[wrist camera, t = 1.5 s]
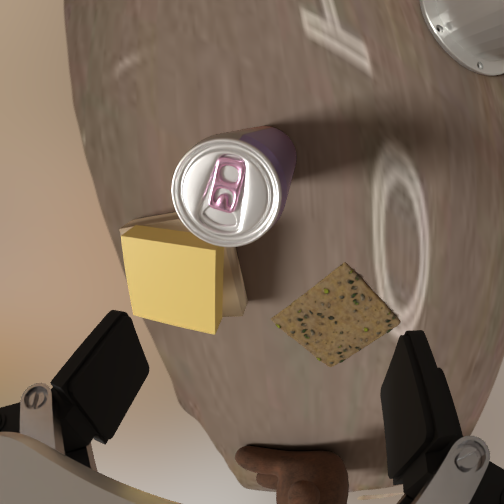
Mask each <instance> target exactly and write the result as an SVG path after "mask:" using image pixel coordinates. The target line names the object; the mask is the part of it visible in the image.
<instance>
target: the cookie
mask: <svg viewBox="0 0 504 504" xmlns="http://www.w3.org/2000/svg"><path fill="white" fill-rule="evenodd" d="M271 320H272V321H273V322H274V323H275V324H276V326H277V327H278V328H281V329H282V330H283V331H284V332H286V333H287V334H288V335H289V336H290V337H292V338H294V339H295V340H296V341H297V342H298V343H299V344H301V345H302V346H304V347H305V348H306V349H307V350H308V351H310V352H311V353H312V354H313V355H314V356H315V357H316V358H317V359H318V360H319V361H322V362H323V363H325V364H326V365H327V366H329V367H332V366H334V365H336V364H338V363H341V362H343V361H344V360H345V359H346V358H349V357H350V356H351V355H353V354H354V353H356V352H358V351H360V350H361V349H362V348H364V347H365V346H367V345H369V344H370V343H372V342H373V341H375V340H376V339H378V338H379V337H381V336H383V335H384V334H385V333H388V332H390V331H391V330H392V329H393V328H395V327H396V326H397V325H399V323H400V321H399V319H398V318H397V316H396V315H394V314H393V312H392V311H391V310H390V309H389V308H388V307H387V305H386V304H385V303H384V302H383V301H382V300H381V299H380V298H379V297H378V296H377V295H376V294H375V293H374V292H373V291H372V290H371V288H370V287H369V286H367V284H366V283H365V282H364V281H363V280H362V278H361V277H360V276H358V274H357V273H356V272H355V271H354V270H353V269H351V267H349V266H348V264H347V263H345V262H344V263H343V264H342V265H341V266H339V267H338V268H337V269H335V270H334V271H333V272H332V273H330V274H329V275H328V276H326V277H325V278H324V279H323V280H321V281H320V282H319V283H317V284H316V285H315V286H314V287H313V288H311V289H310V290H309V291H307V293H305V294H304V295H302V296H301V297H300V298H298V299H297V300H295V301H294V302H293V303H292V304H291V305H289V306H288V307H287V308H285V309H283V310H282V311H281V312H280V313H278V314H277V315H276V316H274V317H272V318H271Z"/></svg>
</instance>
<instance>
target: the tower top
mask: <svg viewBox="0 0 504 504" xmlns="http://www.w3.org/2000/svg"><path fill="white" fill-rule="evenodd" d="M121 242H122V249H123V257H124V264H125V270H126V277H127V283H128V288H129V294H130V299H131V305H132V310H133V315H135V316H139V317H143V318H146V319H150V320H154V321H158V322H162V323H166V324H170V325H174V326H179V327H183V328H187V329H192V330H196V331H201V332H205V333H210V334H215V333H216V331H217V329H218V326H219V324H220V322H221V319H222V308H223V268H224V247H221V246H216V245H213V244H210V243H207V242H205V241H203V240H201V239H200V238H198V237H197V236H195V235H194V234H193V233H191V232H184V231H177V230H170V229H162V228H155V227H147V226H140V225H135V226H134V227H132V228H131V229H129V230H128V231H127V232H125V233H124V234H123V235H121Z"/></svg>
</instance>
